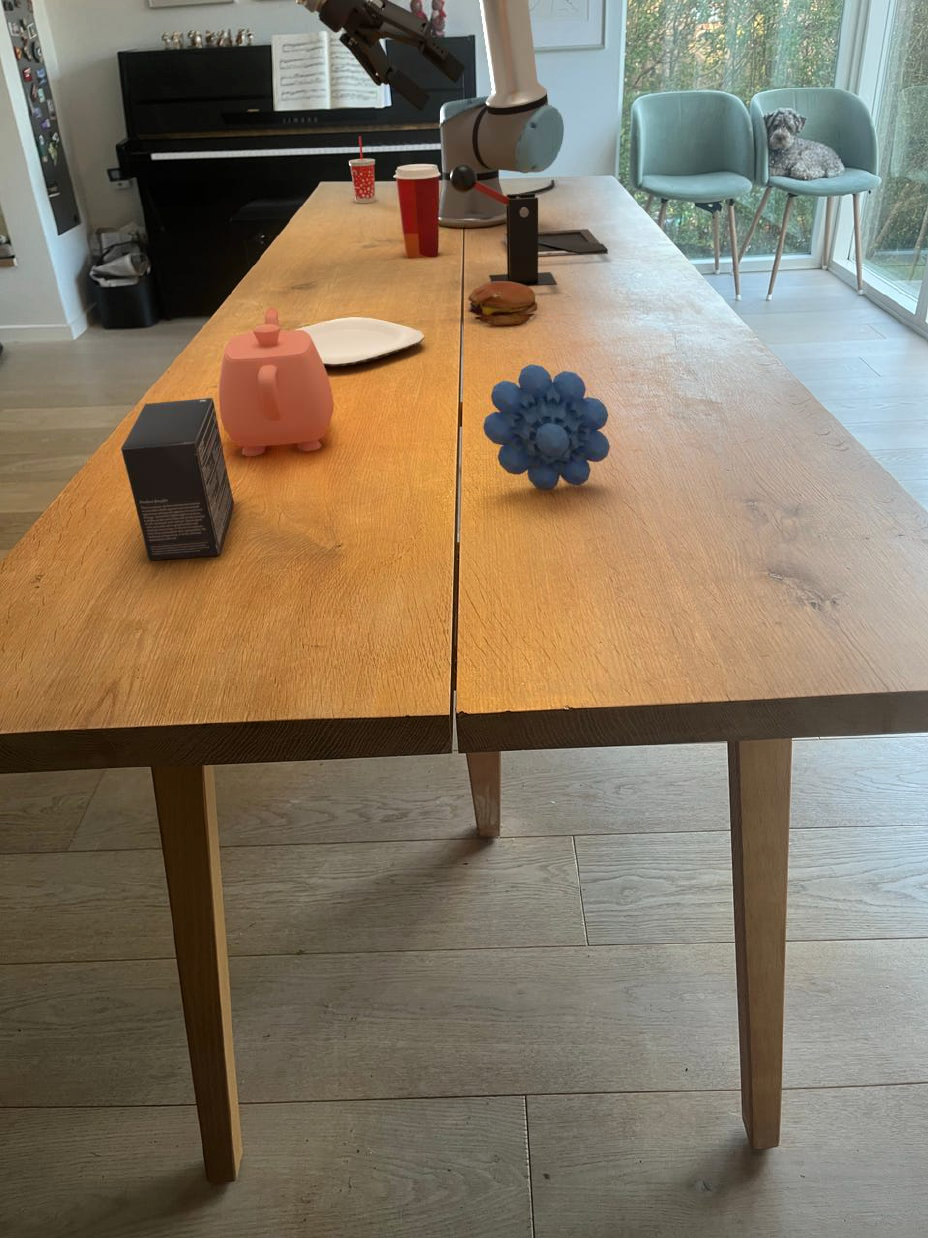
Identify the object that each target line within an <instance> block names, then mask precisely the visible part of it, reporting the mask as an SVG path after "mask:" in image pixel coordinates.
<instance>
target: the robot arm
mask: <svg viewBox="0 0 928 1238" xmlns="http://www.w3.org/2000/svg"><path fill="white" fill-rule="evenodd" d="M295 2H296V4H297V5H299V6H301V5H302V7H304V8H305V9H306V10H308V12H310V13H311V14H313V13H314V14H315V12H316V13H317V20H319V21H320V22H321V23H322V24H323V25H324V26H326V27H327V28H328V29H329V30H331V32H333V33H335V34H337V33H339V32H340V31H341V30H343V31H342V33H341V35H340V36H339V38H338V40H339V42H340V43H341V44H342V45H343V46H344V47H345V48H346V49H348V50H349V52H350V53H351V54H352V55H353V57H354V58H355V59H356V61H357V62H358V63H359V65H360V66H361V67H362V68H363V70H364V71H365V72H366V74H367V75H368V76H369V78H370V79H371V80H372V81H373V83H374V84H375V85H376V86H378V87H381V86H382V84H383V85H385V86H387V85H388V86H390V87H391V88H392V89H393V90H395V91H396V92H397V93H398V94H399V95H400V96H401V97H403V99H405V100H406V101H408V102H409V103H410V104H411V105H412V106H413V107H415V108H416V109H417V110H418V111H420V112H422V111H424V109H425V107H426V105H427V103H428V102H429V100H430V98H431V95H430V94H428V93H427V92H426V91H425V90H424V89H422V87H420V86H419V85H418V84H417V83H416V82H414V81H413V80H412V79H411V78H410V77H409V76H407V75H406V74H405V73H404V72H403V71H402V70H401V69H399V68H398V67H397V66H396V65H392V62H391V61H390V59H389V57H388V55H387V54H386V51H385V49H384V48H383V46H382V43H381V41H380V40H385V39H387V38H388V39H391V40H392V41H396V42H399V43H401V44H405V45H408V46H411V47H414V48H417V50H418V54H419V55H421V56H423V57H424V58H425V59H426V60H427V61H428V62H430V63H431V64H432V65H433V66H434V67H435V68H436V69H438V70H439V71H440V72H441V73H442V74H443V75H445V76H446V77H447V78H448V79H449V80H450V81H451V82H452V83H454V84H456V83H458V81H459V79H460V77H461V76H462V74H463V72H464V70H465V69H466V65H464V64H463V63H462V62H461V61H460V60H458V59H457V58H456V57H455V56H454V55H452V53H451V52H449V51H448V50H447V48H445V47H444V46H443V45H442V44H441V43H440V42H438V40H436V39H435V38H434V36H433V33H432V30H433V29H434V25H433V23H432V22H431V21H429V20H427V19H425V18H424V17H422V16H420V15H417V14H416V13H413V12H411V11H410V10H409V9H406V8H404V7H402V6H400V5H398V4H397V3H394V2H392V1H390V0H295ZM479 4H480V12H481V20H482V28H483V32H484V33H483V34H484V40H485V47H486V54H487V62H488V68H489V69H488V70H489V76H490V82H491V89H492V90H491V93H490V94H489V95H486V96H479V97H472V98H466V99H465V98H464V99H459V100H453V101H448V102H444V104H443V105H442V106H441V108H440V111H439V119H440V120H439V125H438V126H439V137H440V153H441V170H442V171H441V172H442V186H441V189H440V193H439V226H442V227H446V228H447V227H448V228H457V229H458V228H459V229H465V228H466V229H469V228H470V229H472V228H473V229H475V228H485V227H493V226H497V225H502V224H504V223H507V219H506V205H505V204H503V203H501V202H499V201H497V200H496V199H494V198H492V197H490V196H488V195H486V194H484V193H482V192H480V191H478V190H476V189H474V188H473V189H472V190H471V191H469V192H467V193H460V192H458V191H456V190H455V189H454V188H453V186H452V184H451V181H450V176H451V173H452V171H453V169H454V168H455V167H456V166H458V165H460V164H467V165H469V166H471V167H472V168H473V169H474V170H475V172H476V175H477V181H478V182H480V183H481V184H483V185H485V186H487V187H489V188H491V189H493V190H495V191H497V192H499V193H501V194H503V195H504V193H503V190H502V186H501V183H500V171H508V172H516V173H520V174H529V173H534V174H535V173H541V172H544V171H546V170H547V169H548V168H550V167H551V166H552V165H553V164H554V162H555V161H556V159H557V158H558V155H559V153H560V151H561V148H562V146H563V141H564V133H565V130H564V129H565V125H564V119H563V116H562V114H561V113H560V112H559V110H558V108H557V107H556V106H553V105H551V104H549V99H548V90H547V88H546V87H545V86H543V85H542V84H540V83H539V81H538V72H537V65H536V56H535V48H534V47H535V46H534V39H533V30H532V21H531V13H530V3H529V0H479ZM554 187H555V180H554V179H551V180H550V185H548V186H545V187H542V188H537V189H534V190H529V191H525V192H519V193H518V194H526V193H535V195H536V194H540V193H543V192H546V191H549V190H551V189H553V188H554Z"/></svg>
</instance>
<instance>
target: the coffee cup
mask: <svg viewBox="0 0 928 1238" xmlns="http://www.w3.org/2000/svg"><path fill="white" fill-rule="evenodd" d="M438 167H439V166H438V165H437V164H430V163H415V164H414V163H413V164H405V165H400V166H397V168H396V170H395V174H394V175H393V178H395V180H396V186H397V187H396V188H397V196H398V203H399V213H400V220H401V228H402V237H403V245H404V252H405V257H406V258H407V259H412V260H413V259H432V258H436V257H438V256H439V248H440V247H439V246H440V245H439V241H440V240H439V238H440V235H439V234H440V231H439V230H440V225H439V198H440V176H441V175H442V174H441V172H439V168H438Z"/></svg>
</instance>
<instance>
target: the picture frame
mask: <svg viewBox="0 0 928 1238" xmlns="http://www.w3.org/2000/svg"><path fill="white" fill-rule="evenodd" d="M504 244H505V246H506V247H507V232H506V233H504ZM552 252H553V253H552ZM608 254H609V249H608V248H607V247H606V246H605V245H604V244H603V243H601V242H600V241H599V240H598V239H597V237H595V236H594V234H593V233H592V232H591V231H590V230H589V229H588V228H586V229H585V228H584V229H565V230H546V231H545V230H544V231H538V258H552V257H553V258H555V257H570V256H571V257H572V256H589V255H590V256H591V255H592V256H593V255H608Z"/></svg>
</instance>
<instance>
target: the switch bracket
mask: <svg viewBox="0 0 928 1238" xmlns="http://www.w3.org/2000/svg"><path fill="white" fill-rule="evenodd" d="M505 196H506V197H508V198H510V199H509V206H507V205H506V219H507V221H506V233H507V246H506V273H503V274H489V275H488V277H489V279H490V282H493V281H509V282H515V283H520V284H523V285H526V286H528V287H538V286H539V287H540V286H557V285H558V283H557V281H556V280H555V278H554V276H553V274H552V272H551V271H544V272H539V257H538V254H539V252H538V232H539V197H536V194H535V193H526V194H519V193H508V194H506V195H505ZM517 196H518V197H520V198H516V197H517Z"/></svg>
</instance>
